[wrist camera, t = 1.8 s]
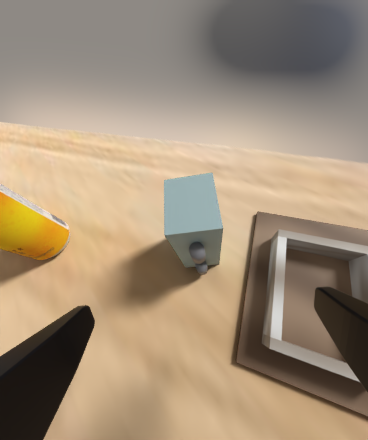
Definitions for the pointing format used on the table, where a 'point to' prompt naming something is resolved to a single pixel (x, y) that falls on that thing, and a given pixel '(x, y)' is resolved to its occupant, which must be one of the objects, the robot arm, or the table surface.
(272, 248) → the brown framed base board
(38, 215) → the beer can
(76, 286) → the table surface
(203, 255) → the pale blue box
